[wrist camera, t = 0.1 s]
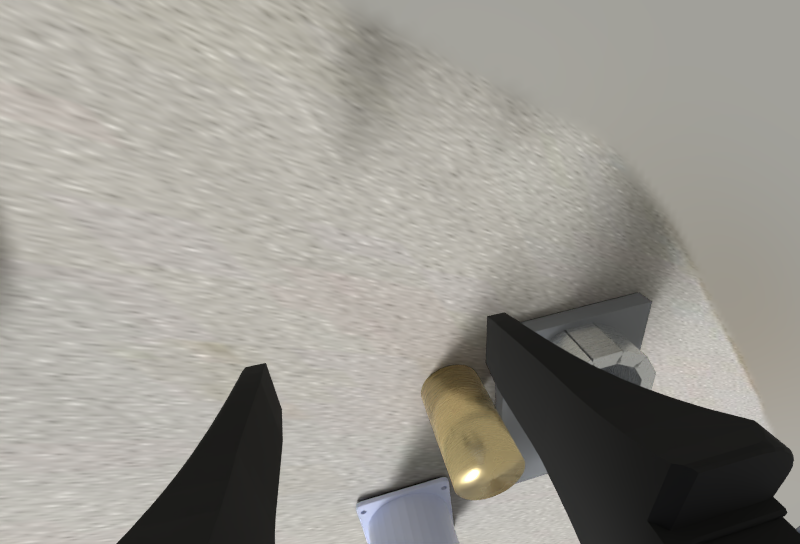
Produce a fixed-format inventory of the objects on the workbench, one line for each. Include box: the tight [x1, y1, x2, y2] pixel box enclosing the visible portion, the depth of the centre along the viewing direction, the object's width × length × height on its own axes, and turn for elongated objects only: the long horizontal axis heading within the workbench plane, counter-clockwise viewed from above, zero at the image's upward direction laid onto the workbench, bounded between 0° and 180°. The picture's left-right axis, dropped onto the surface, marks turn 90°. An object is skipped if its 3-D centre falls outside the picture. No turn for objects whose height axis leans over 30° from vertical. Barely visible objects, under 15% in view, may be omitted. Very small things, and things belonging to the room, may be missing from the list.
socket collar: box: [549, 323, 656, 390], centre depth 28 cm, size 8×8×3 cm
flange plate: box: [496, 293, 652, 484], centre depth 30 cm, size 17×11×4 cm, turn 7°
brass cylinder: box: [421, 365, 525, 500], centre depth 26 cm, size 4×4×7 cm
